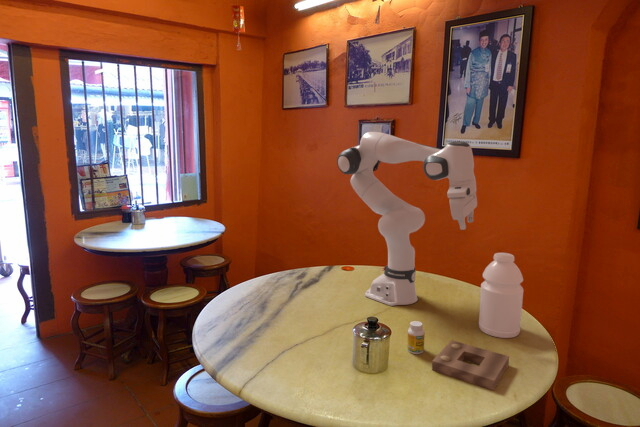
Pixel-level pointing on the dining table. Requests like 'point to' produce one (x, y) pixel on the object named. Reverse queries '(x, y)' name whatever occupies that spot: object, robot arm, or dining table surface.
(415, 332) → the supplement bottle
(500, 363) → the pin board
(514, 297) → the bottle
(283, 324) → the dining table surface
